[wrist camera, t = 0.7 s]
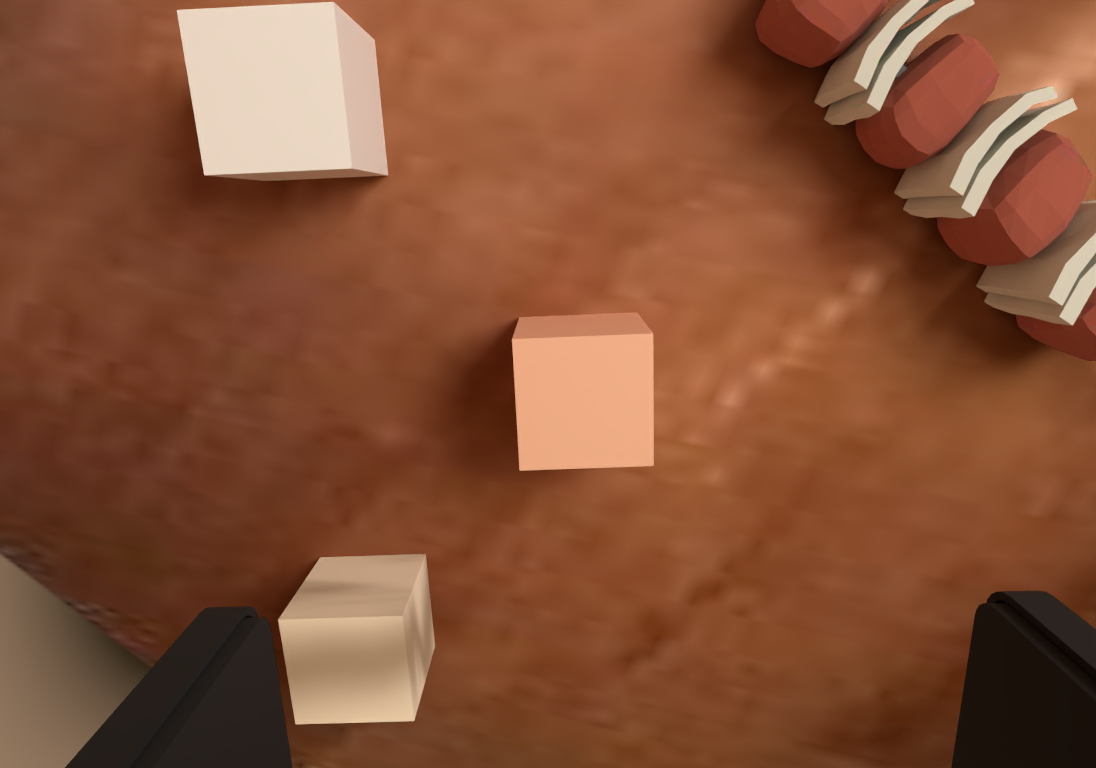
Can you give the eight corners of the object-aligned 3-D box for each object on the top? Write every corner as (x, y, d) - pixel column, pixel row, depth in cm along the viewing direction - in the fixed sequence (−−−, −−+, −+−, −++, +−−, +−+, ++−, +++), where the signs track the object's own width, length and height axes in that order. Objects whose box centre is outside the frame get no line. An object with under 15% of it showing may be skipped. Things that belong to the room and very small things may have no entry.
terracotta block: (637, 424, 30) (653, 465, 25) (525, 427, 30) (519, 470, 25) (636, 312, 28) (653, 333, 24) (519, 317, 29) (512, 339, 24)
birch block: (435, 645, 33) (414, 721, 28) (333, 648, 33) (295, 724, 28) (426, 553, 31) (402, 615, 27) (320, 556, 32) (278, 619, 27)
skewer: (765, -270, 20) (1343, 392, 24) (728, -180, 24) (1220, 365, 29) (643, -121, 21) (1218, 490, 25) (630, -61, 25) (1119, 449, 30)
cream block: (388, 175, 27) (352, 168, 22) (266, 181, 27) (204, 175, 22) (374, 40, 26) (333, 1, 21) (247, 46, 26) (176, 10, 21)
